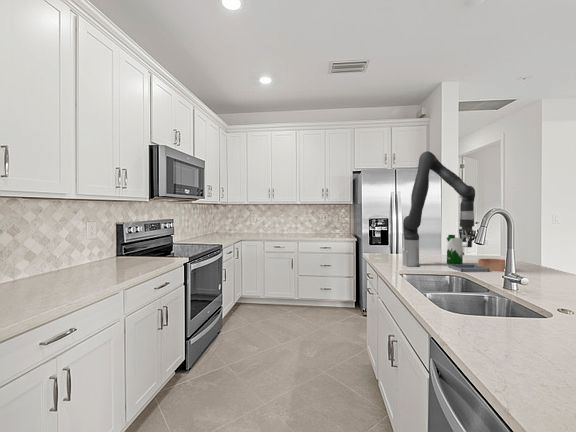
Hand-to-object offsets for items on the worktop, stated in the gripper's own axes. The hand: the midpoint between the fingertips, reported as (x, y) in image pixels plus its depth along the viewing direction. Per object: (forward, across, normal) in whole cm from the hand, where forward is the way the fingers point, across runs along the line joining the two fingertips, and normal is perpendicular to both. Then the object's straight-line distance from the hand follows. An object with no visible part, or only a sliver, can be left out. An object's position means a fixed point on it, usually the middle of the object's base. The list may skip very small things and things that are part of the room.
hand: (467, 246), depth 189 cm
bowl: (+15, -2, +19) cm, 24 cm away
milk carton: (+15, -21, +4) cm, 26 cm away
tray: (+15, 0, +1) cm, 15 cm away
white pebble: (0, 0, 0) cm, 0 cm away
